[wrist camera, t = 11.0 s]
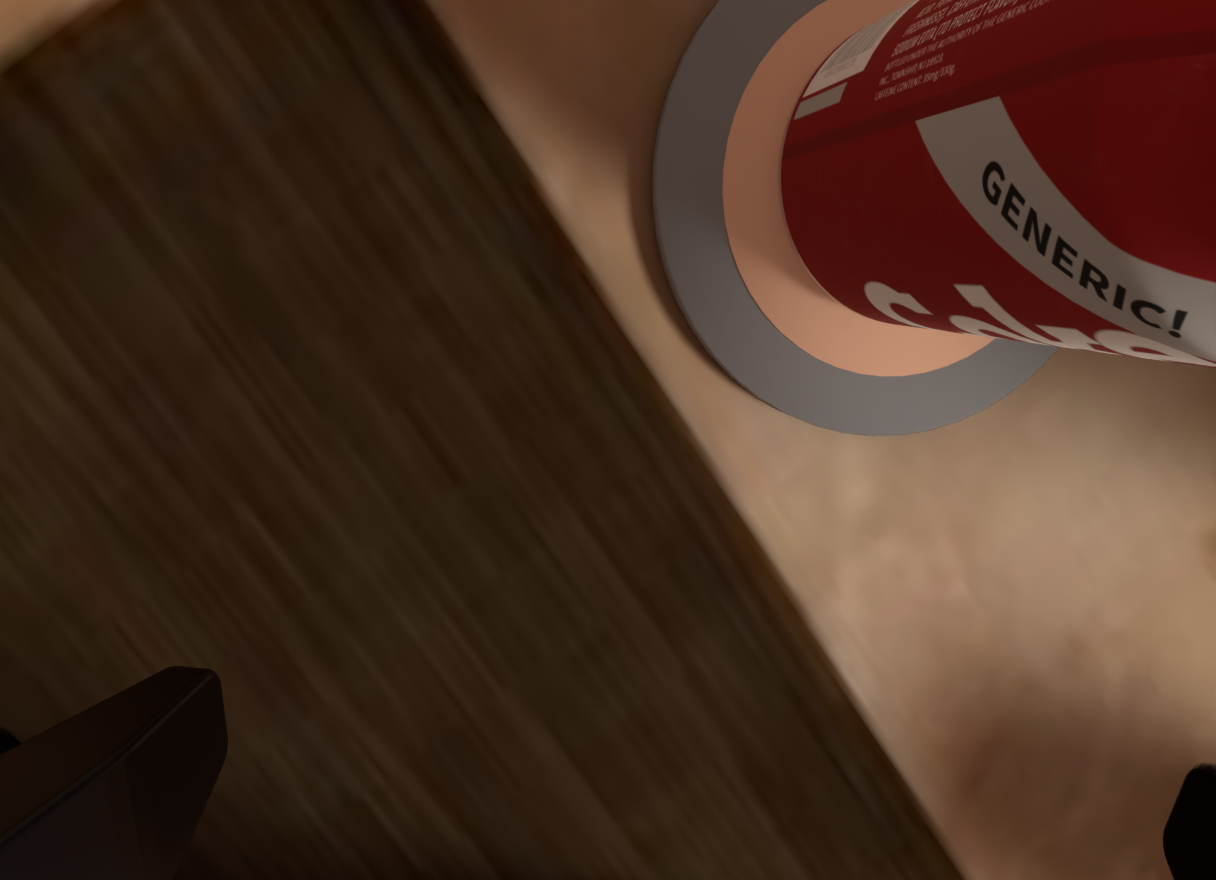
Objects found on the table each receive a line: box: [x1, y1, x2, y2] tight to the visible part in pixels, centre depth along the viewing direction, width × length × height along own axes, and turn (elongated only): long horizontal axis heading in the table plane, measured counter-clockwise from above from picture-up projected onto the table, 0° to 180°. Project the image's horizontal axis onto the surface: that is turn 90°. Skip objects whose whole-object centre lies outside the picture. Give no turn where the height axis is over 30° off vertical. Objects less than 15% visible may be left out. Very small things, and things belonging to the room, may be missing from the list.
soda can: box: [778, 0, 1216, 368], centre depth 14 cm, size 7×7×12 cm
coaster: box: [652, 0, 1059, 436], centre depth 21 cm, size 12×12×1 cm
